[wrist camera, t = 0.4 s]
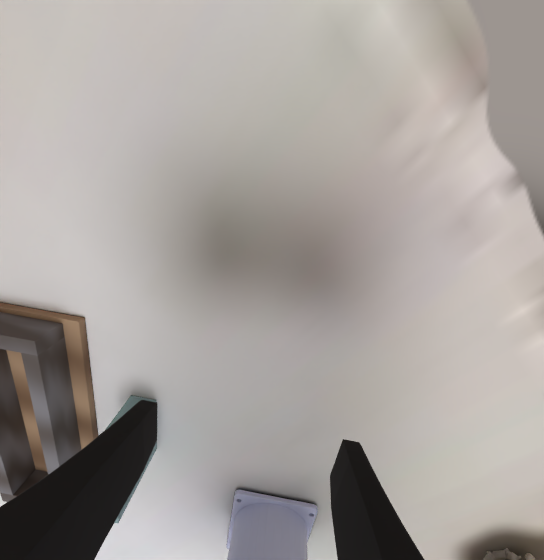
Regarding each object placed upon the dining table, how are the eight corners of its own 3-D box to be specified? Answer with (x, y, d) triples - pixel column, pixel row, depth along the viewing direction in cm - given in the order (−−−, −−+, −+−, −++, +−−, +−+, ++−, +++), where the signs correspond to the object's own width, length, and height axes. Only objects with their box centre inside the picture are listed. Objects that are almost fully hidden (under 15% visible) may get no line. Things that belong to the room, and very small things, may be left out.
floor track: (103, 486, 29) (82, 519, 26) (20, 469, 29) (-10, 500, 26) (84, 317, 21) (52, 339, 19) (-28, 297, 22) (-76, 315, 19)
